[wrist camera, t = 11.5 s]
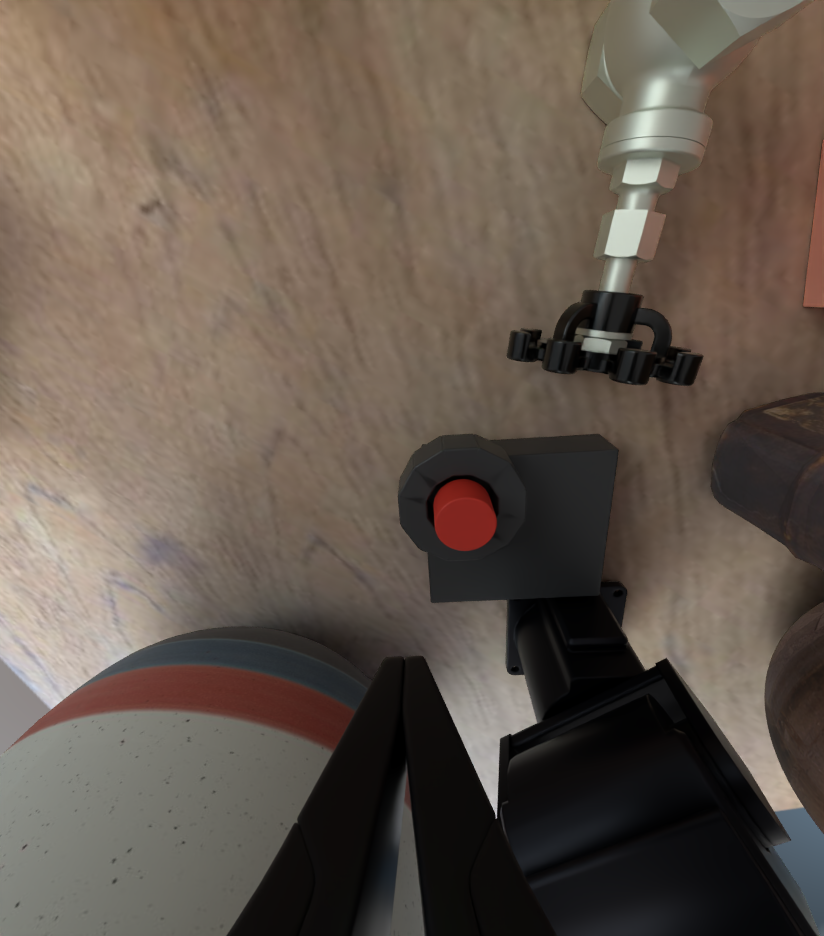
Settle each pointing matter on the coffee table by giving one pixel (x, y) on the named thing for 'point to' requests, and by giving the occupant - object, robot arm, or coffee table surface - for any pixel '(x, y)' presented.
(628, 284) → the valve
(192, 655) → the planter
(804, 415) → the book
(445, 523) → the button
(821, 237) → the pink cube with pegs
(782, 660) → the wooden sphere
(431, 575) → the button box
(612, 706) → the robot arm
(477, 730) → the coffee table surface
